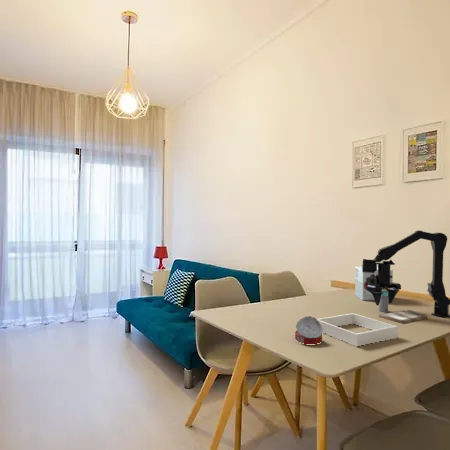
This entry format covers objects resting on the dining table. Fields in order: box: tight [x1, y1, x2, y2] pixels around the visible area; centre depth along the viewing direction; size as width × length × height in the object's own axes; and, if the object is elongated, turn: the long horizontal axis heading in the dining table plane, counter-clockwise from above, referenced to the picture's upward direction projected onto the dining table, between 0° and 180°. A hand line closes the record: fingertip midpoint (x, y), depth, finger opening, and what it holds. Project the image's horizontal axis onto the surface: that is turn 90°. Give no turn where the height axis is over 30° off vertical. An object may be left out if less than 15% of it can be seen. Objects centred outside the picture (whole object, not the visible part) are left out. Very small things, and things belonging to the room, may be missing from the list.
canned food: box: [294, 316, 323, 344], centre depth 133 cm, size 11×10×10 cm
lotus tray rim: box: [316, 312, 399, 347], centre depth 141 cm, size 22×22×4 cm
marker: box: [378, 291, 389, 313], centre depth 176 cm, size 4×4×10 cm
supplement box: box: [354, 265, 394, 302], centre depth 206 cm, size 17×13×18 cm
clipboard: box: [378, 309, 428, 324], centre depth 165 cm, size 18×12×2 cm, turn 117°
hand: (383, 304), depth 176 cm, fingers open, 9 cm apart
